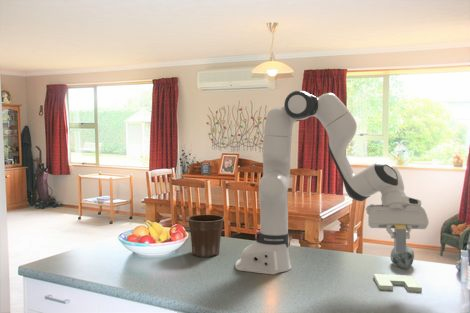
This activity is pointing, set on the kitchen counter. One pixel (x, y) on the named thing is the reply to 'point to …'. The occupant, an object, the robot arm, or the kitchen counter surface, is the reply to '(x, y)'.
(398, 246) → the grey and yellow block
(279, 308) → the kitchen counter surface
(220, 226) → the plant pot
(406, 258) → the grey oval lump
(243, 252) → the robot arm
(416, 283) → the notched board
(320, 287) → the kitchen counter surface
